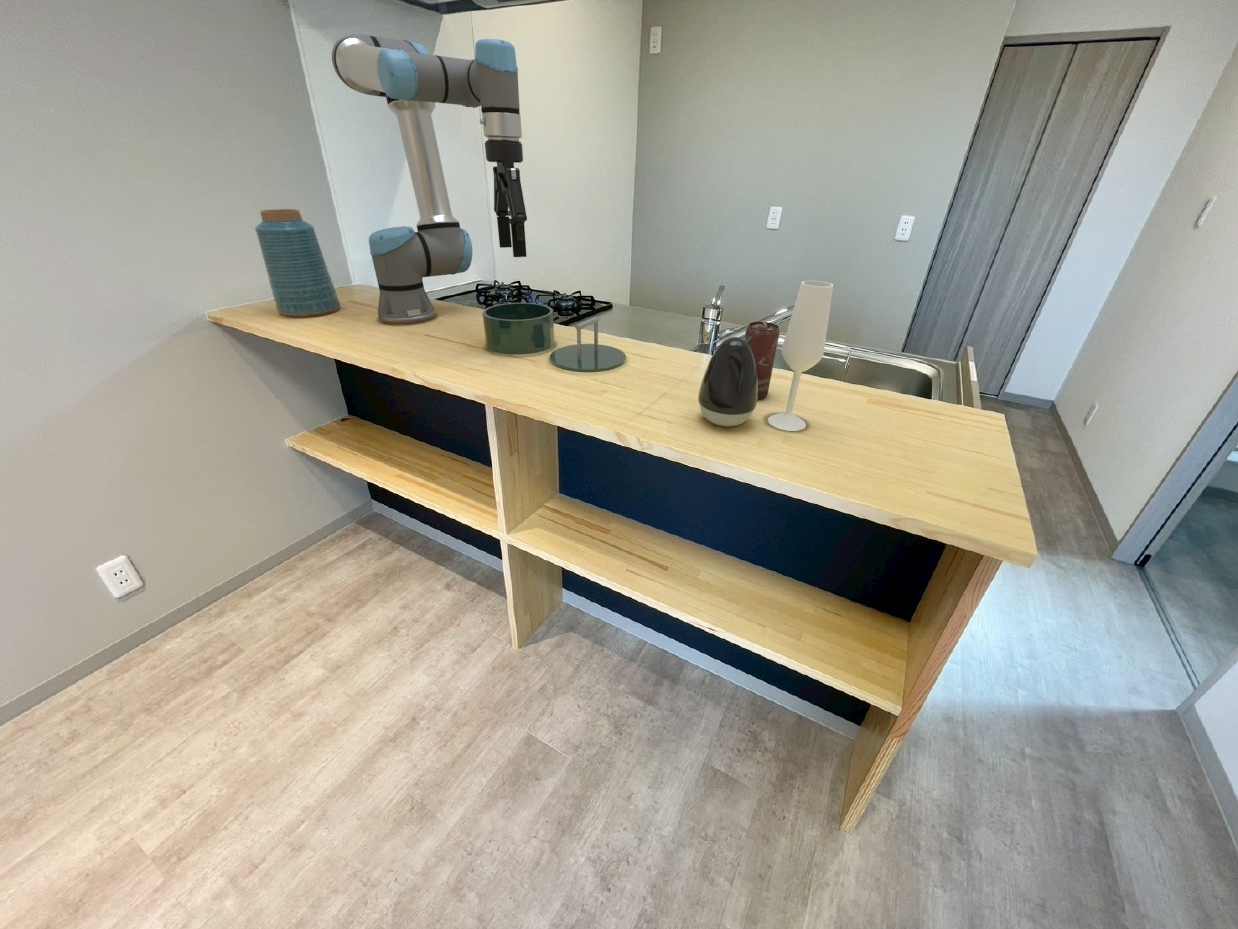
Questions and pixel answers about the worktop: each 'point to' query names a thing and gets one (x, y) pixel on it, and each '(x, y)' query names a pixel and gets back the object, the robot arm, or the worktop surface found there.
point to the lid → (588, 353)
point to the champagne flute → (804, 343)
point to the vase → (295, 265)
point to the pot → (519, 328)
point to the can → (763, 352)
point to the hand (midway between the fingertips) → (512, 251)
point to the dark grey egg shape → (730, 383)
